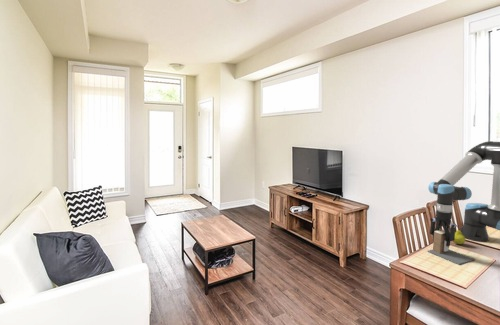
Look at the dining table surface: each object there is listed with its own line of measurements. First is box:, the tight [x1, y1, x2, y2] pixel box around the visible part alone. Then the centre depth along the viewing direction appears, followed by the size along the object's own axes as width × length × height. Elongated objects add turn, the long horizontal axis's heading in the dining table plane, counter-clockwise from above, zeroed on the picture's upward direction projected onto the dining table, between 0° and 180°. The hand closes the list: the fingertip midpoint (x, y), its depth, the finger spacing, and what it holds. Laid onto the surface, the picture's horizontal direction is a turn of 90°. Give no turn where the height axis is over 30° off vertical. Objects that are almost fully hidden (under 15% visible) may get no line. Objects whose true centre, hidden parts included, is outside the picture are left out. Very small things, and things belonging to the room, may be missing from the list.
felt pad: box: [427, 249, 475, 266], centre depth 155 cm, size 14×17×1 cm
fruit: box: [452, 225, 467, 245], centre depth 171 cm, size 7×7×12 cm
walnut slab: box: [432, 228, 450, 253], centre depth 160 cm, size 8×4×12 cm, turn 113°
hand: (440, 249), depth 160 cm, fingers open, 5 cm apart
